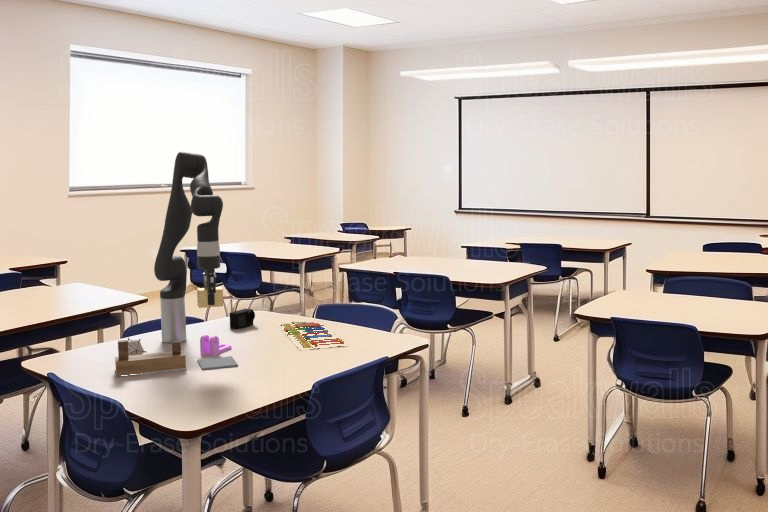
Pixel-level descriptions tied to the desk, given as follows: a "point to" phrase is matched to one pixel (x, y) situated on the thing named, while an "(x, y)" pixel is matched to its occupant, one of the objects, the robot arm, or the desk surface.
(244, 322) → the digital camera
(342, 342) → the gear board
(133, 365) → the plane body
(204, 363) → the mat
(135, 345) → the game die
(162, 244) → the robot arm
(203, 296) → the lever cap
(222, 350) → the bracket
